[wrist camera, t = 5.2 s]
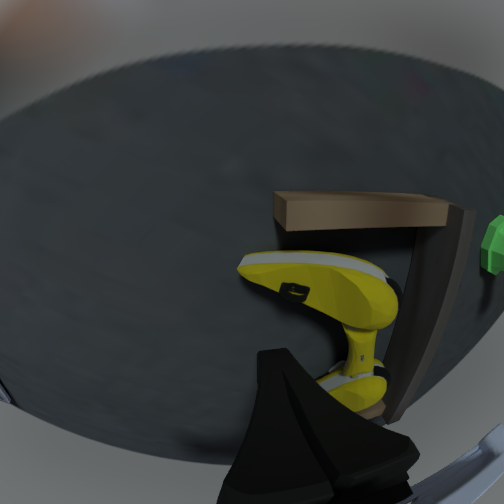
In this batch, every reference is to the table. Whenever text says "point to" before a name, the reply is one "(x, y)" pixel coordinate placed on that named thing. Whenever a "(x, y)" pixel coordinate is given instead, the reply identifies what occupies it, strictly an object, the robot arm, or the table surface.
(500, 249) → the game piece
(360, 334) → the yellow plastic handheld tool
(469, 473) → the robot arm
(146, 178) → the table surface
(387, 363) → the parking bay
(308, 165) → the table surface
